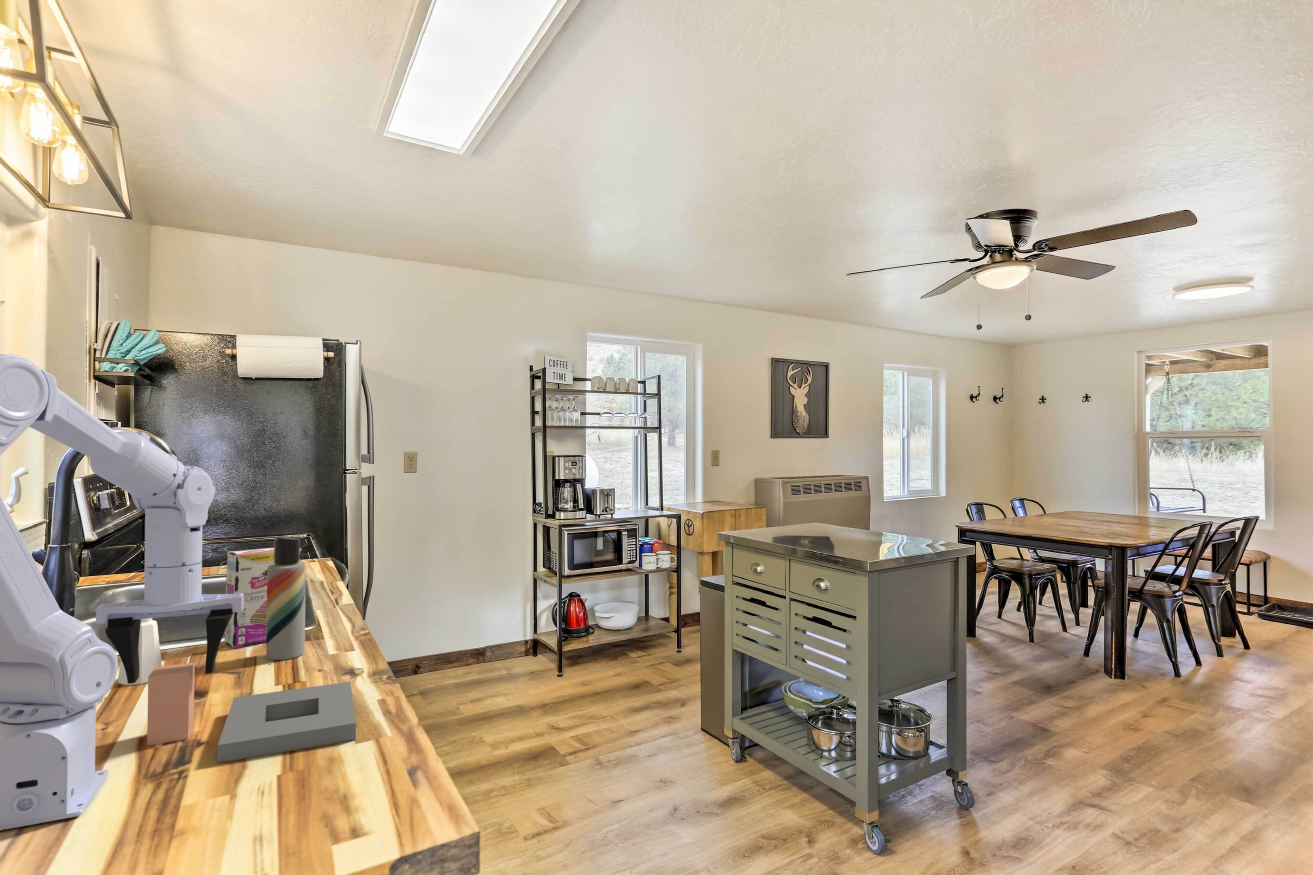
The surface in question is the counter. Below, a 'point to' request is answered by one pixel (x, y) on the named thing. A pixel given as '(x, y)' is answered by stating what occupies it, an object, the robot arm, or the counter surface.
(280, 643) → the lotion bottle
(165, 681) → the terracotta peg
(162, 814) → the counter surface
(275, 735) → the socket block
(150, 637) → the pepper shaker
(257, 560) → the candy bar box
